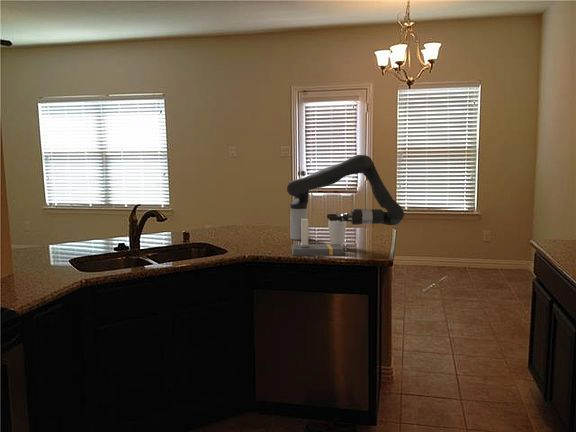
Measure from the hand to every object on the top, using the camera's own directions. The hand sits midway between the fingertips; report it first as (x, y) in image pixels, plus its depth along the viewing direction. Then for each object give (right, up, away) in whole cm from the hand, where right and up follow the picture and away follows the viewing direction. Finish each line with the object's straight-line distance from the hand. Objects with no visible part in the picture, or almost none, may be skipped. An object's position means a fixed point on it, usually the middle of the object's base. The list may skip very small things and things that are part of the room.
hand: (328, 217), depth 227 cm
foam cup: (+6, -15, +18) cm, 24 cm away
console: (-5, -17, +2) cm, 18 cm away
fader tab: (-11, -14, +1) cm, 18 cm away
